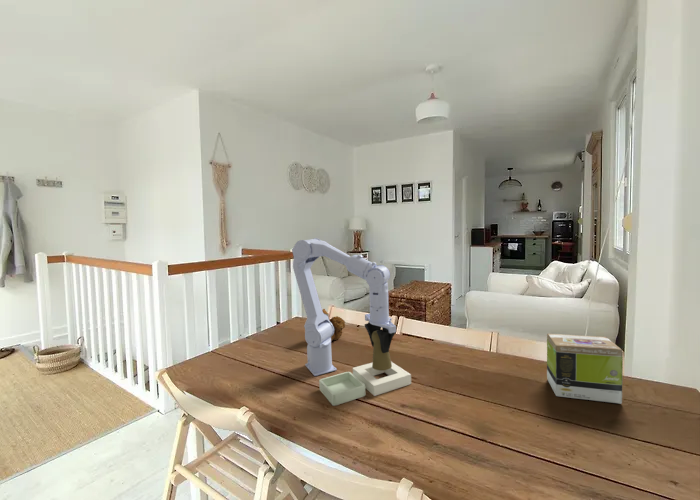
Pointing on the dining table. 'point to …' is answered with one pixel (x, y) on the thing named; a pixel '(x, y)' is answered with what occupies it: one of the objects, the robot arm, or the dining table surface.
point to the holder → (385, 384)
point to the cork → (380, 355)
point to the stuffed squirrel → (336, 326)
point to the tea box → (585, 367)
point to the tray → (342, 388)
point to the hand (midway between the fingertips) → (380, 348)
